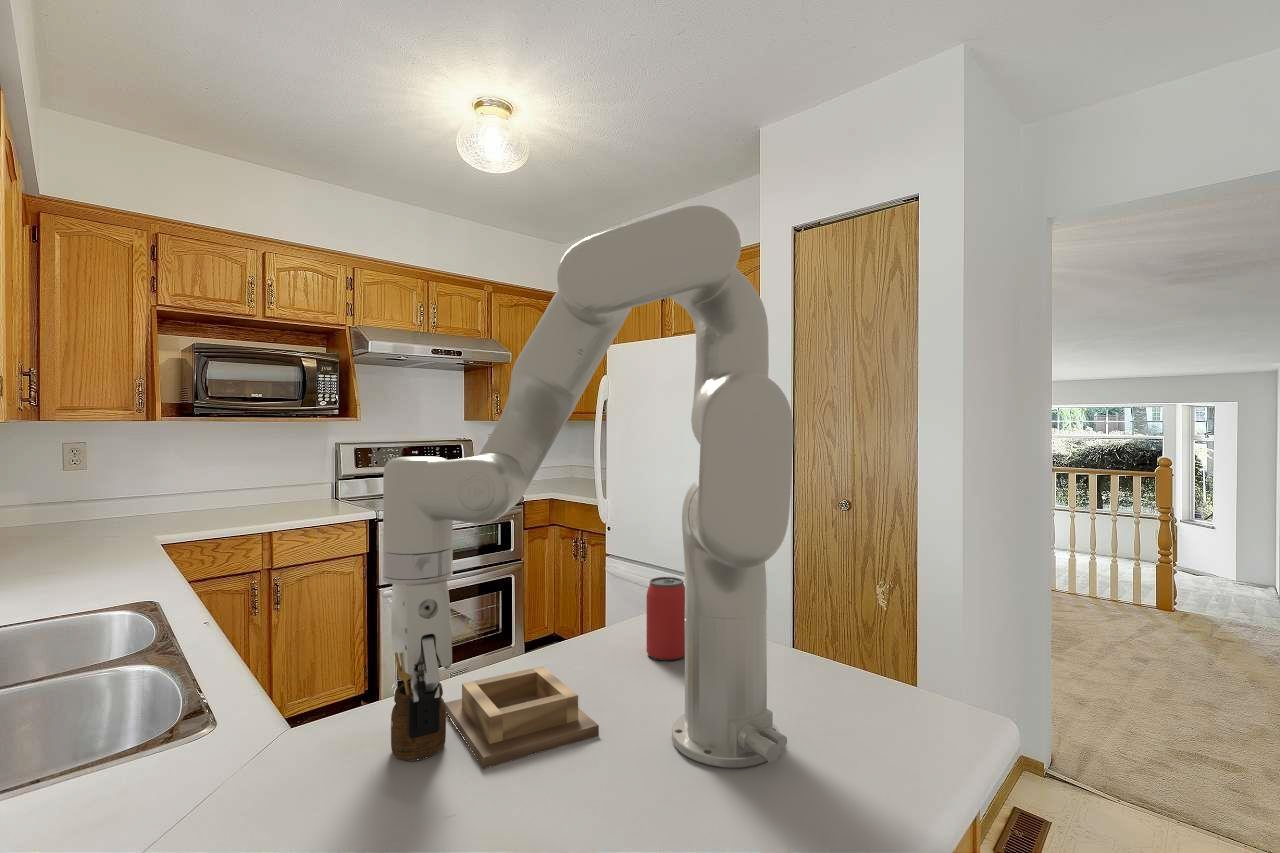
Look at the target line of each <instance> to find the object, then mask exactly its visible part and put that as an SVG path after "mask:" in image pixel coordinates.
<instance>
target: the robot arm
mask: <svg viewBox="0 0 1280 853" xmlns="http://www.w3.org/2000/svg"><path fill="white" fill-rule="evenodd" d="M741 249H742V240H741V236H740V233H739V229H738V227H737V225H736V223H734V221H733V219H732V218H730V217H729V216H728V215H727V214H726V213H725V212H723V211H722V210H720V209H718V208H715V207H712V206H708V205H689V206H684V207H681V208H677V209H673V210H670V211H666V212H664V213H663V212H662V213H660V214H657V215H653V216H651V217H648V218H644V219H641V220H638V221H635V222H631V223H627V224H625V225H621V226H619V227H615V228H611V229H608V230H606V231H603V232H599V233H596V234H593V235H591V236H588V237H585V238H584V239H582V240H580V241H578V242H576V243H575V244H573V245H572V246H571V247H570V248H569V249H567V251H566V252H565V253H564V254H563V256H562V257H561V259H560V262H559V263H558V268H557V271H556V272H557V273H556V275H557V276H556V277H557V278H556V279H557V280H556V281H557V282H556V283H557V287H558V288H557V290H556V292H555V294H553V296H552V299H551V301H550V302H549V304H548V305H547V307H546V309H545V311H544V313H543V314H542V316H541V318H540V319H539V321H538V323H537V324H536V325H535V328H534V330H533V332H532V333H531V335H530V337H528V339H527V341H526V343H525V345H524V347H523V348H522V350H521V351H520V353H519V355H518V357H517V358H516V360H515V362H514V365H513V368H512V371H511V376H510V383H509V389H508V390H509V391H508V397H507V399H506V403H505V405H504V407H503V409H502V413H501V415H500V417H499V419H498V421H497V423H496V425H495V427H494V428H493V430H492V432H491V434H490V435H489V437H488V439H487V440H486V442H485V444H484V445H483V447H482V449H481V450H480V452H479V453H478V455H476V456H475V455H474V456H469V457H461V458H455V459H454V458H453V459H447V458H444V457H440V456H430V455H429V456H427V455H426V456H425V455H424V456H420V455H419V456H400V457H399V456H398V457H393V458H392V459H390V460H388V461H387V462H386V464H385V466H384V469H383V482H382V484H383V491H382V492H383V494H382V496H383V498H382V499H383V500H382V503H383V504H382V505H383V506H382V508H383V511H382V512H383V513H382V515H383V516H382V519H383V522H382V523H383V524H382V525H383V526H382V531H383V532H382V533H383V534H382V581H383V582H384V583H386V584H387V583H388V584H391V585H392V586H391V587H392V588H391V592H392V593H391V645H392V646H391V648H392V652H393V654H394V656H395V653H396V652H397V653H398V658H399V662H400V667H401V660H400V653H401V654H402V664H403V669H404V671H405V672H406V673H407V674H409V675H410V679H409V680H408V682H410V681H411V697H412V700H409V701H408V735H409V737H410V738H417V737H421V736H425V735H429V734H433V733H437V732H438V731H439V711H440V696H439V695H440V693H439V682H440V680H441V679H440V678H441V677H440V676H441V675H440V671H439V669H440V668H439V669H438V667H439V666H440V665H441V666H440V667H442V668H443V669H445V670H447V669H450V668H451V666H452V665H453V642H452V620H451V618H452V617H451V604H450V592H449V584H448V579H450V578H451V577H452V576H453V574H454V573H453V561H454V559H453V558H454V556H453V553H454V551H453V549H454V547H453V544H454V542H453V541H454V540H453V539H454V537H453V535H454V534H453V533H454V531H453V530H454V527H453V525H454V524H453V521H455V522H462V523H470V524H487V523H491V522H494V521H496V520H498V519H500V518H502V517H503V516H504V515H505V514H506V513H508V512H509V511H510V510H511V509H513V508H514V507H515V506H516V505H517V504H518V503H519V501H520V500H522V498H523V496H524V495H525V493H526V491H527V490H528V488H529V486H530V484H531V483H532V481H533V480H534V477H535V476H536V474H537V473H538V471H539V469H540V467H541V465H542V463H543V462H544V460H545V459H546V457H547V455H548V453H549V451H550V450H551V448H552V446H553V445H554V443H555V441H556V438H558V436H559V434H560V431H561V430H562V428H563V427H564V425H565V424H566V422H567V421H568V420H569V419H570V417H571V416H572V414H573V413H574V411H575V409H576V406H577V405H578V403H579V401H580V399H581V398H582V395H584V392H585V390H586V389H587V387H588V385H589V384H590V382H591V380H592V378H593V375H594V374H595V373H596V371H597V369H598V367H599V366H600V364H601V362H602V360H603V359H604V357H605V355H606V354H607V352H608V350H609V348H610V347H611V345H612V344H613V342H614V341H615V339H616V337H617V336H618V333H620V330H621V328H622V327H623V325H624V323H625V321H626V319H627V317H628V316H629V314H630V312H631V310H632V308H635V307H640V306H643V305H644V306H645V305H647V304H651V303H653V302H657V301H658V302H659V301H661V300H664V299H668V298H669V299H671V300H672V301H673V302H675V303H676V304H678V305H679V306H680V307H682V308H683V309H684V310H685V311H686V312H687V313H688V315H689V316H690V318H691V320H692V322H693V326H694V331H695V371H694V372H695V373H694V389H693V390H694V391H693V399H692V400H693V401H692V408H691V409H692V410H691V418H690V422H691V423H690V424H691V429H692V432H693V435H694V436H693V437H694V438H695V439H696V441H697V443H698V444H699V447H700V448H699V465H698V466H699V468H698V469H699V470H698V478H697V479H695V481H694V482H693V483H692V484H691V485H690V487H689V489H688V490H687V491H686V494H685V496H684V500H683V505H682V511H681V512H682V513H681V529H682V531H681V532H682V542H683V543H682V545H683V546H682V547H683V558H684V560H683V561H684V562H683V564H684V565H683V566H684V586H685V656H684V713H683V714H682V715H680V716H679V717H678V718H677V719H676V720H675V721H674V722H673V724H672V727H671V740H672V744H673V745H674V746H675V749H677V750H678V751H679V752H680V753H681V754H683V755H684V756H686V757H687V758H689V759H692V760H693V761H695V762H699V763H701V764H705V765H707V766H714V767H719V768H720V767H721V768H731V769H732V768H745V767H746V768H747V767H752V766H757V765H760V764H763V763H766V762H769V763H770V764H772V763H775V762H776V761H777V760H778V759H779V756H780V754H781V750H782V749H785V747H787V744H788V737H787V736H786V735H784V734H783V733H781V732H780V730H779V728H778V727H777V726H776V725H775V724H774V722H773V719H774V718H773V714H774V713H773V711H771V710H770V709H768V708H767V707H768V704H767V702H768V700H767V699H768V698H767V696H768V694H767V688H768V684H767V683H768V682H767V678H768V677H767V675H768V674H767V671H768V670H767V664H768V662H767V661H768V660H767V659H768V658H767V656H768V655H767V646H768V645H767V610H768V604H767V603H768V595H767V592H768V591H767V590H768V589H767V588H768V587H767V570H766V562H767V561H768V560H770V559H771V558H772V557H773V556H774V555H775V554H776V553H777V552H778V550H779V549H780V548H781V546H782V544H783V542H784V540H785V537H786V533H787V530H788V527H789V526H788V525H789V519H790V510H791V493H792V492H791V490H792V471H793V470H792V469H793V468H792V467H793V453H794V452H793V451H794V450H793V449H794V446H793V445H794V421H793V420H794V419H793V414H792V409H791V405H790V402H789V400H788V398H787V396H786V394H785V393H784V392H783V389H781V387H780V386H779V385H778V384H777V383H776V382H775V381H774V380H772V379H771V378H769V368H770V367H769V366H770V362H769V324H768V317H767V313H766V312H767V311H766V308H765V305H764V303H763V301H762V298H761V297H760V295H759V293H758V291H757V290H756V289H755V287H754V286H753V284H752V283H751V281H750V280H749V279H748V278H747V277H746V276H745V274H744V273H743V272H741V270H739V269H738V268H737V265H738V262H739V260H740V257H741V252H742V251H741ZM520 502H521V501H520ZM418 666H419V671H418ZM401 670H402V667H401ZM397 677H398V676H397ZM419 677H420V679H419ZM421 679H424V681H421V682H420V684H419V687H418V680H421ZM396 682H397V684H396V689H397V688H398V687H399V686H401V685H402V684H404V681H403V680H402V679H400V678H399V677H398V680H396Z"/></svg>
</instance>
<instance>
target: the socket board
mask: <svg viewBox="0 0 1280 853" xmlns="http://www.w3.org/2000/svg"><path fill="white" fill-rule="evenodd" d="M444 703H445V707H446V712H447V714H448V715H449V716H450V718H451V719H452V721H453V722H454V724H455V725H456V727H457V728H458V730H459V731H460V733H461V734H462V736H463V737H464V739H465V741H466V742H467V744H468V745H469V747H470V748H471V750H472V751H473V753H474V754H475V756H476V757H475V756H474V757H475V758H476V760H477V759H478V760H477V762H478V763H479V762H480V763H479V765H480V766H481V768H484V769H487V768H490V766H491V767H493V766H497V765H500V763H501V764H505V763H509V762H512V761H514V760H518V759H521V758H525V756H526V757H529V756H532V754H533V755H536V754H539V753H543V752H546V751H549V749H550V750H553V749H556V748H559V747H564V746H567V745H570V744H573V743H576V742H580V741H584V740H587V739H590V738H594V737H598V736H599V735H600V733H599V732H600V730H599V729H600V725H599V724H598V723H597V722H596V721H594V719H592V718H591V717H590V716H589V715H588V714H586V713H585V712H584V711H583V710H582V709H580V708H579V694H577V693H576V692H575V691H574V690H572V688H570V687H569V686H568V685H566V683H564V682H562V680H560V679H559V678H558V677H556V676H555V675H554V674H553V673H551V672H550V671H549V670H548V669H547V668H546V667H544V666H538V667H533V668H529V669H523V670H519V671H514V672H510V673H504V674H500V675H497V676H491V677H486V678H485V677H484V678H481V679H478V680H472V681H471V680H470V681H468V682H467V681H466V682H462V683H461V698H459V699H455V700H454V699H453V700H451V701H447V702H446V701H444ZM447 714H446V715H447ZM458 730H457V731H458ZM460 733H459V734H460ZM462 736H461V737H462ZM464 739H463V740H464ZM465 741H464V742H465ZM466 742H465V743H466ZM467 744H466V745H467ZM468 745H467V746H468ZM469 747H468V748H469ZM470 748H469V749H470ZM471 750H470V751H471ZM545 750H546V751H545ZM472 751H471V752H472ZM542 751H543V752H542ZM473 753H472V754H473ZM535 753H536V754H535ZM474 754H473V755H474ZM528 755H529V756H528ZM511 760H512V761H511Z"/></svg>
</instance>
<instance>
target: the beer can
mask: <svg viewBox="0 0 1280 853" xmlns="http://www.w3.org/2000/svg"><path fill="white" fill-rule="evenodd" d="M646 653H647V654H648V656H649V657H651V658H652V659H654V660H658V661H665V662H666V661H676V660H677V661H678V660H680V659H682V658H685V580H683V579H682V578H679V577H676V576H675V577H673V576H659V577H654V578H651V579H650V580H649V584H648V587H647V591H646Z"/></svg>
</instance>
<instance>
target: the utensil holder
mask: <svg viewBox="0 0 1280 853" xmlns="http://www.w3.org/2000/svg"><path fill="white" fill-rule="evenodd" d="M394 657H395V663H396V669H397V671H396V672H397V677H399V678H400V679H399V678H398V679H399V680H403V681H404V684H402V685H401V686H399V687H398V688H397V687H396V689H395V691H394V695H393V696H394V698H393V699H394V700H393V701H394V703H395V704H394V705H393V707H392V710H391V713H390V714H391V716H390V717H391V718H390V745H391V746H390V747H391V752H392V755H393V756H394V757H395V758H396V757H397V758H396V759H398V758H399V759H398V760H401V759H403V760H402V761H407V760H413V761H418V760H417V759H421V760H424V759H423V758H425V759H427V758H426V757H428V758H430V756H431V757H433V756H434V754H435V755H436V753H437V754H438V753H439V752H440V751H441V750H443V748H444V746H445V744H446V737H447V714H446V707H445V700H444V698H443V695H444V690H443V685H442V683H441V682H440V681H439V693H440V695H439V696H440V711H439V731H438V732H437V733H433V734H429V735H425V736H421V737H417V738H410V737H409V735H408V701H409V700H412V697H411V681H410V682H408V680H409V679H410V675H409V674H407V673H406V672H405V671H404V669H403V664H402V654H401V653H400V660H401V667H402V670H401V667H400V662H399V658H398V653H397V652H396V653H395V655H394ZM438 669H440V666H438ZM418 671H419V666H418ZM419 679H420V677H419ZM421 681H424V679H421V680H418V687H419V684H420V682H421ZM432 755H433V756H432Z"/></svg>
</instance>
